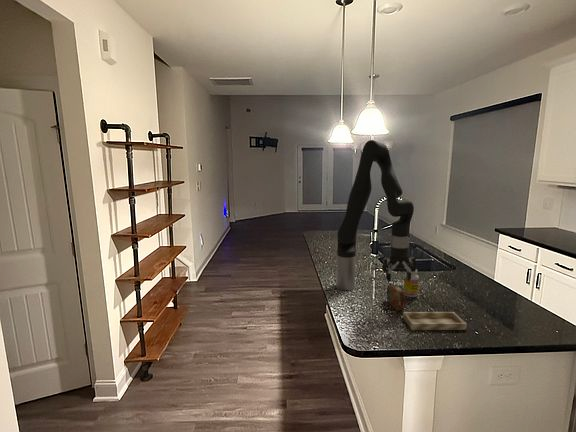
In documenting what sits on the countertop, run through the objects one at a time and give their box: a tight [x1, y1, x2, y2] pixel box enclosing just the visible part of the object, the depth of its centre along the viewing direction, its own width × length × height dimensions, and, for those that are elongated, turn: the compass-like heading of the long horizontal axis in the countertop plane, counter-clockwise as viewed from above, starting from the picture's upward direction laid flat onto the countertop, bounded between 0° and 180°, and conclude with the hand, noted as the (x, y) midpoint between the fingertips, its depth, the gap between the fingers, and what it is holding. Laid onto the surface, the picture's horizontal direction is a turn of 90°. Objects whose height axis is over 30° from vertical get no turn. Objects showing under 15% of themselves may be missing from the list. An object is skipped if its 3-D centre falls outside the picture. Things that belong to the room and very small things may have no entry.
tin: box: [386, 284, 407, 311], centre depth 145 cm, size 15×3×8 cm, turn 5°
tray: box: [402, 311, 468, 331], centre depth 130 cm, size 21×10×2 cm, turn 89°
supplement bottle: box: [402, 269, 420, 298], centre depth 157 cm, size 7×7×13 cm
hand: (398, 280), depth 144 cm, fingers open, 8 cm apart
